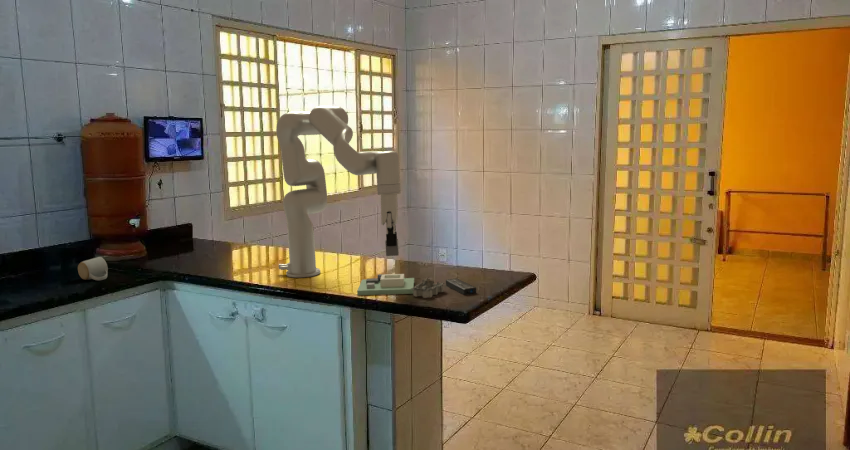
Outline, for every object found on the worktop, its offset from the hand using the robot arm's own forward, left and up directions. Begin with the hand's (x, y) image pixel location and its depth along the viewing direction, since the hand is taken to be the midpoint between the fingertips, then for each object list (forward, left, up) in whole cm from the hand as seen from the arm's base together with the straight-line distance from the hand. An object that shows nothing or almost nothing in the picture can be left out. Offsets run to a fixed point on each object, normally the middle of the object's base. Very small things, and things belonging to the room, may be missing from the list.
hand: (392, 244), depth 206 cm
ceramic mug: (-116, +29, -15) cm, 120 cm away
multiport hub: (+22, -3, -16) cm, 27 cm away
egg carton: (+12, -7, -15) cm, 21 cm away
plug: (0, 0, -4) cm, 4 cm away
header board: (-2, 0, -15) cm, 15 cm away
